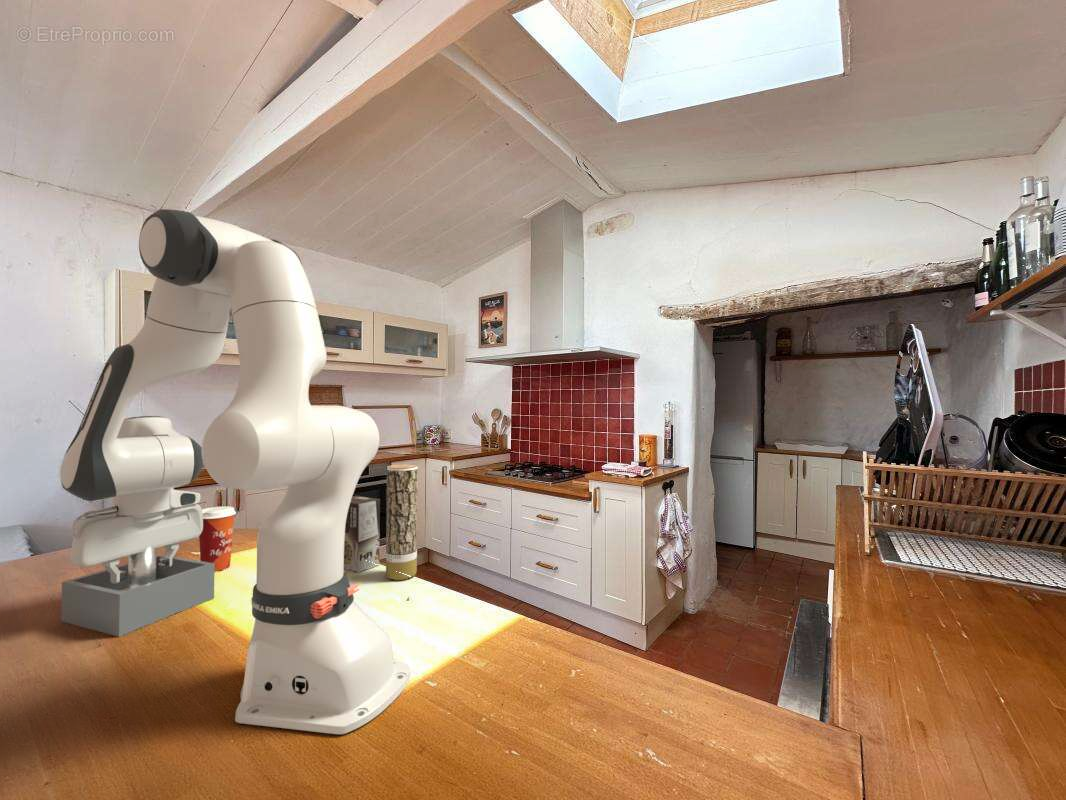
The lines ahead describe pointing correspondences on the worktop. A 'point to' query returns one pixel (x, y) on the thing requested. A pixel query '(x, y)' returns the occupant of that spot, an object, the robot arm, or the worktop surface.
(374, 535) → the coffee box
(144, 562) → the peg
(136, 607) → the box
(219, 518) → the paper cup
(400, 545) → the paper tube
